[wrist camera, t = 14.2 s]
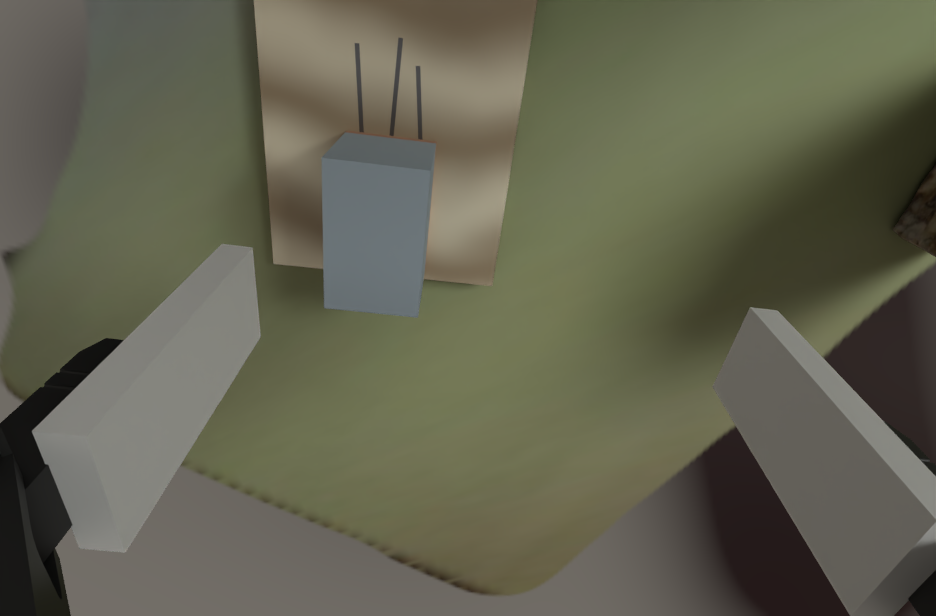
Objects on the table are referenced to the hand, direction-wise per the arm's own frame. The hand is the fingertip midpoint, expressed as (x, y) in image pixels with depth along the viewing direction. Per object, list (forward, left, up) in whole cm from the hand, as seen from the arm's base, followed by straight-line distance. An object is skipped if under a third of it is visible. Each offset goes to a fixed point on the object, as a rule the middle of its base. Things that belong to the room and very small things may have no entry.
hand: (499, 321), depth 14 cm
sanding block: (+4, -5, -18) cm, 19 cm away
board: (-1, -5, -20) cm, 20 cm away
